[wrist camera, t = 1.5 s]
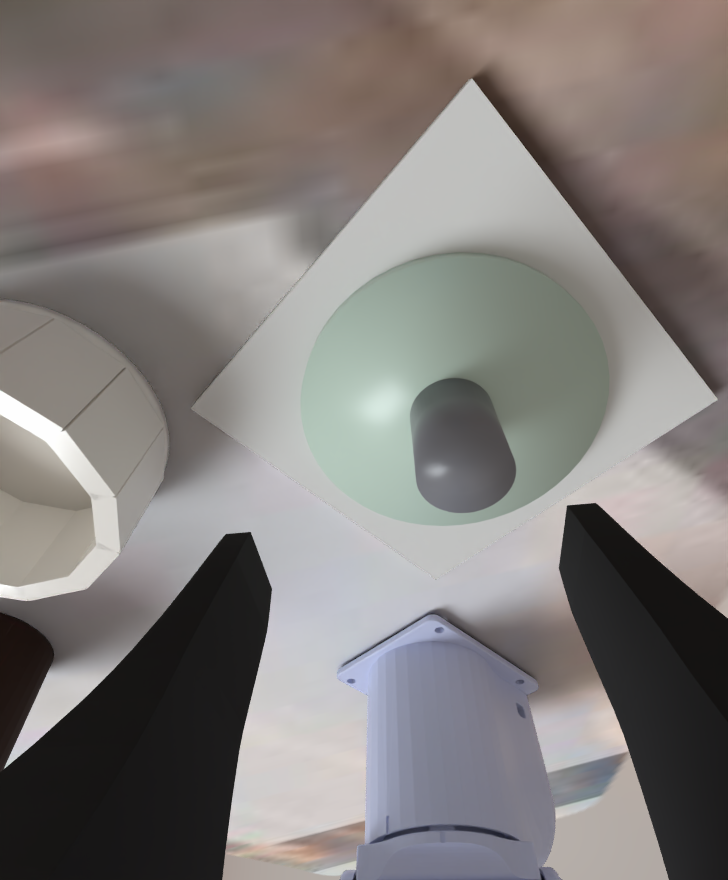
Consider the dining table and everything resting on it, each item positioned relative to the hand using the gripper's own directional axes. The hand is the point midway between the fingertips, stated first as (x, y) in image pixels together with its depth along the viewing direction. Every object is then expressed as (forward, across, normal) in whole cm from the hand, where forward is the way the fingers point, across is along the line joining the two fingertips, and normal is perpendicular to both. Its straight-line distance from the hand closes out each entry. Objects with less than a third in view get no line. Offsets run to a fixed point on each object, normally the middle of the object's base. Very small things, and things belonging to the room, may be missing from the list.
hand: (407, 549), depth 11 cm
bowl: (+9, +14, 0) cm, 17 cm away
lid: (+8, -2, +1) cm, 8 cm away
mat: (+9, -2, +1) cm, 9 cm away
